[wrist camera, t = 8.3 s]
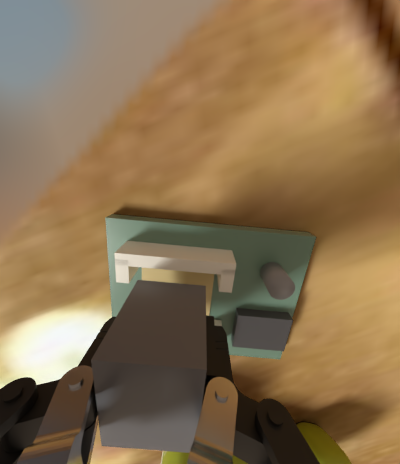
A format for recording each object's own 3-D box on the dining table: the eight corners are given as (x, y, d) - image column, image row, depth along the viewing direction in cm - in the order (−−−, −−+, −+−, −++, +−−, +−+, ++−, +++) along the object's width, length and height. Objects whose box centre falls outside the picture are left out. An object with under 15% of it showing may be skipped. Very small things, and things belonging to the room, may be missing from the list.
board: (308, 232, 14) (335, 249, 11) (275, 348, 17) (289, 384, 15) (112, 214, 14) (88, 226, 11) (119, 334, 17) (102, 367, 15)
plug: (205, 285, 12) (206, 369, 7) (197, 355, 13) (194, 460, 9) (137, 279, 11) (91, 360, 7) (138, 349, 13) (102, 452, 8)
